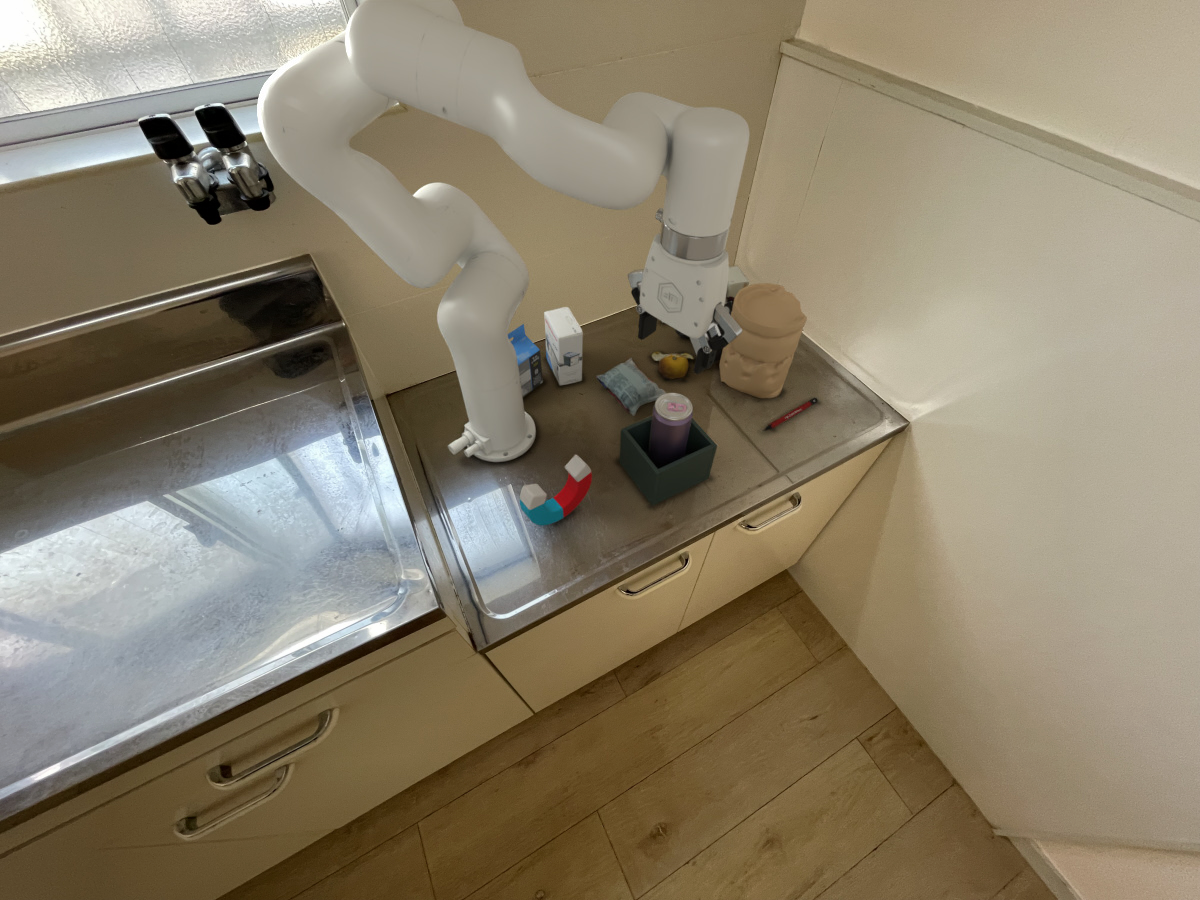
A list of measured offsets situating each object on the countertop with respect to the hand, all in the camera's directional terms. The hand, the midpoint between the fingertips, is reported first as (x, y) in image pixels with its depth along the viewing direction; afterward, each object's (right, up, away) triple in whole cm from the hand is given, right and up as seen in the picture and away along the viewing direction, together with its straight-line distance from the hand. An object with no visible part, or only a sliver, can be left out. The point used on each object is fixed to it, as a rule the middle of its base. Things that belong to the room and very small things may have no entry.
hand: (673, 351), depth 77 cm
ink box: (-17, +2, +35) cm, 39 cm away
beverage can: (+1, -17, +19) cm, 25 cm away
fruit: (+5, +3, +36) cm, 37 cm away
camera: (+7, +9, +35) cm, 37 cm away
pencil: (+25, -8, +27) cm, 38 cm away
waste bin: (+1, -17, +19) cm, 26 cm away
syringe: (+6, +17, +47) cm, 50 cm away
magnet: (-17, -24, +14) cm, 32 cm away
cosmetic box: (+16, +13, +44) cm, 49 cm away
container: (+19, 0, +33) cm, 38 cm away
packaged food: (-4, -3, +31) cm, 31 cm away
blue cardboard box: (-25, -2, +31) cm, 40 cm away
